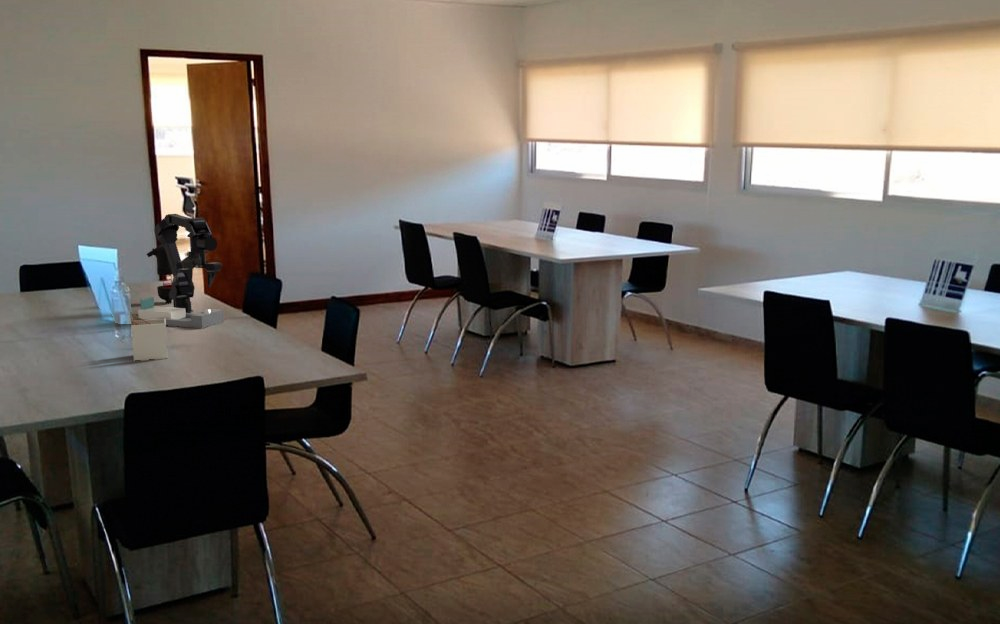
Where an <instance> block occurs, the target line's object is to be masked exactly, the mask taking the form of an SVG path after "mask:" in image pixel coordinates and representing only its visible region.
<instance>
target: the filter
mask: <svg viewBox="0 0 1000 624" xmlns="http://www.w3.org/2000/svg"><path fill="white" fill-rule="evenodd" d="M176 241H178V237H177V238H176ZM146 256H147V257H148V258H150V257H153V256H155V258H156V263H157V264H156V265H157V266H156V272H157V275H159V276H162V277H172V276H173V274H172V270H171V267H170V264H169V261H168V257H167V254H166V251H165V248H164V245H163V244H162V243H160V244H159V245H158V246H157V247H155V248H152V249H151V250H150V251H149V252H147V253H146ZM169 281H171V282H169ZM172 281H173V278H165V279H164V278H163V279H162V285H159V286H157V288H156V290H157V295H158V297H159V298H160V299H161V300H163V301H165V304H167V303H170V304H173V299H170V297H169V292H170V291H171V289H172ZM165 282H166V283H165Z"/></svg>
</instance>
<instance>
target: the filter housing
mask: <svg viewBox="0 0 1000 624" xmlns="http://www.w3.org/2000/svg"><path fill="white" fill-rule="evenodd" d="M210 309H211V308H210ZM158 319H166V325H168V326H167V327H177V326H179V327H180V328H189V327H194V328H193V329H201V328H203V329H205V327H206V328H208V327H207V326H209V327H211V326H210V325H212V326H214V325H213V324H215V325H217V324H216V323H218V324H221V323H223V322H222V321H224V320H225V319H224V310H223V309H218V308H212V309H211V313H203V311H201V312H198V313H197V312H196V313H194V312H192V313H191V312H189V313H186V317H184V318H181V319H169V318H158ZM220 322H221V323H220Z"/></svg>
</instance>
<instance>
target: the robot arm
mask: <svg viewBox="0 0 1000 624" xmlns="http://www.w3.org/2000/svg"><path fill="white" fill-rule="evenodd" d="M180 227H182V228H184V230H185V231H187V232H188V234H187V236H186V237H187V238H189V245H190V246H189V247H190V249H189V250H190V251H188V254H187V256H186V257H185V258H184V259H181V256H180V252H179V249H178V246H177V240H176V238H177V239H178V231H179V229H180ZM153 229H154V230H153V231H154V235H155V236H156V238H157V241H158V242H160V244H163V245H164V248H165V251H166V254H167V257H168V261H169V264H170V267H171V270H172V274H173V275H172V276H173V278H172V289H171V291H170V292H169V297H170V299H173V300H172V304H173V308H185V311H186V313H188V312H189V313H191V311H192V312H194V310H193V309H192V301H191V298H194V295H195V288H196V287H195V283H194V281H193V273H194V272H193V271H194V268H196V269H198V268H199V269H205V273H206V276H207V287H208V288H211V286H212V284H213V282H214V279H215V278H216V275H217V273H218V272H220V271H221V270H222V269H223V265H222V263H221V262H215V261H211V262H208V261H209V260H206V259H207V258H206V254H208V251H209V252H213V251H214V250H216V249H217V247H218V241H217V239H216V238H215V237H214V236H213V234H212V232H211V229H210V227H209V225H208V222H207V221H206V219H205V218H204V217H194V218H193V217H192V218H191V217H188V216H183V215H181V214H178V213H167V214H166V215H165V216H164V218H162V219H161V220H160V221H158V222H157V223H156V225H155V227H154V228H153Z"/></svg>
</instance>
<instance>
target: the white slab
mask: <svg viewBox="0 0 1000 624" xmlns="http://www.w3.org/2000/svg"><path fill="white" fill-rule="evenodd" d="M137 313H138V315H137V317H139V318H141V319H143V320H151V319H158V318H169V319H181V318H184V317H186V311H185V308H174V306H172V307H171V306H159V305H155V299H154V297H153V296H149V297H146V298H141V299H140V309H138V310H137ZM141 319H140V320H141Z"/></svg>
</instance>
